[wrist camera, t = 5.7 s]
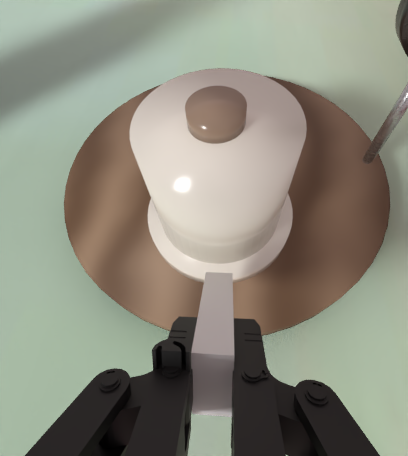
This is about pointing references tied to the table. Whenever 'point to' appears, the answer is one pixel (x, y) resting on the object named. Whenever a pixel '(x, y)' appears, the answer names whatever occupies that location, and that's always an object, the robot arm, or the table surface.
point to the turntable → (288, 258)
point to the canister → (219, 169)
